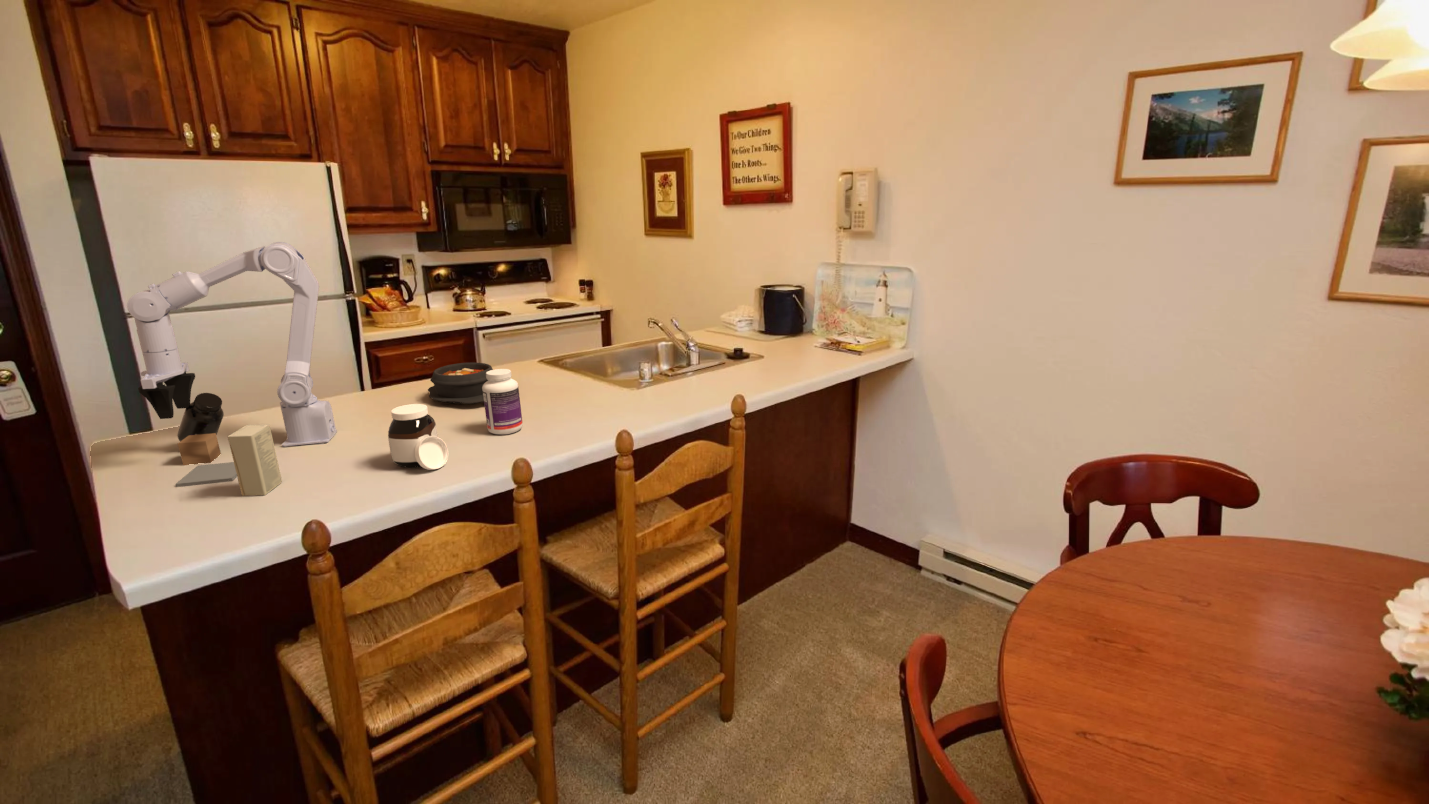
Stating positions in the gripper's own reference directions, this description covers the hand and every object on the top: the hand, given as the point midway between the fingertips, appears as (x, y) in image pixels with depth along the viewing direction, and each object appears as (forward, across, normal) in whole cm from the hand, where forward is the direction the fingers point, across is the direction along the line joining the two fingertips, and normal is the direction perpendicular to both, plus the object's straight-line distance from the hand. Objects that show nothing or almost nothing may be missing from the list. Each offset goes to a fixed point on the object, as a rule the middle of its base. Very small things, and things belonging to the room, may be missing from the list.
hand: (175, 413), depth 139 cm
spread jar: (+9, +18, +50) cm, 54 cm away
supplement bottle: (+8, -7, -1) cm, 11 cm away
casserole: (+9, -29, +55) cm, 63 cm away
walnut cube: (+10, +2, +4) cm, 11 cm away
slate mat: (+10, +12, +10) cm, 19 cm away
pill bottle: (+9, +2, +66) cm, 67 cm away
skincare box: (+10, +23, +22) cm, 33 cm away
